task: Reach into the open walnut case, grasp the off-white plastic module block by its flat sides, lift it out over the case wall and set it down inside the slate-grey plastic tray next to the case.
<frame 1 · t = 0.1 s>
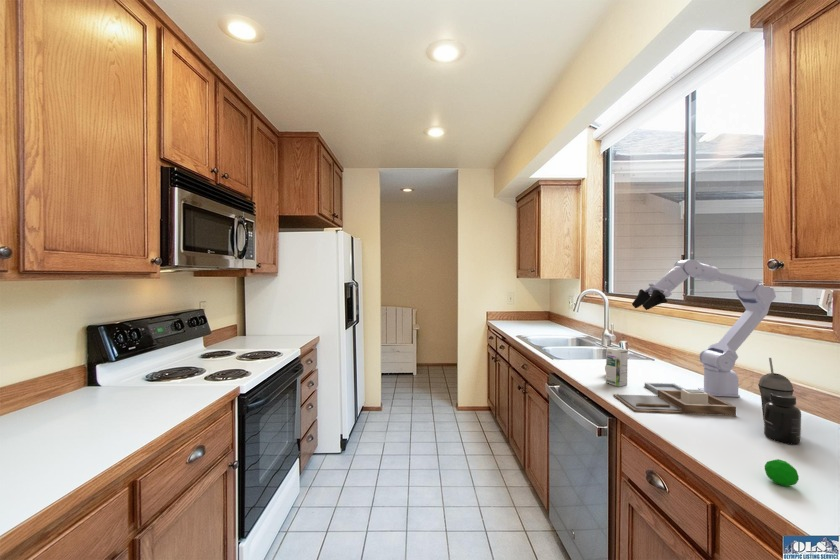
hand: (638, 307, 133), 32 cm above the worktop, tool tilted 50°, fingers open, 7 cm apart
module: (694, 406, 118), resting in open case
supplement bottle: (781, 440, 94), on the worktop
open case: (694, 405, 118), on the worktop
green rounded piece: (781, 484, 74), on the worktop
tray: (667, 391, 132), on the worktop
apple: (615, 377, 151), on the worktop
syrup box: (616, 384, 142), on the worktop
beverage cup: (775, 427, 101), on the worktop
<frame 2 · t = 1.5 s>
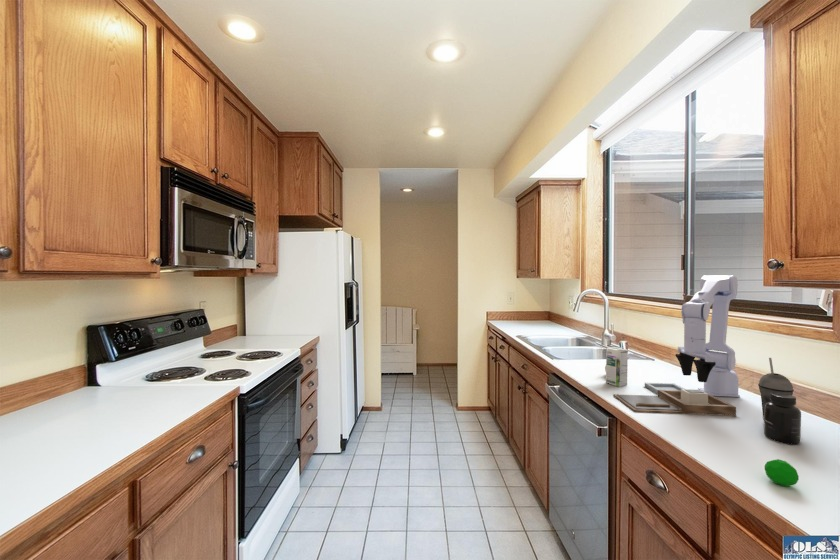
hand: (694, 378, 118), 9 cm above the worktop, tool pointing down, fingers open, 7 cm apart
nothing on the worktop moved.
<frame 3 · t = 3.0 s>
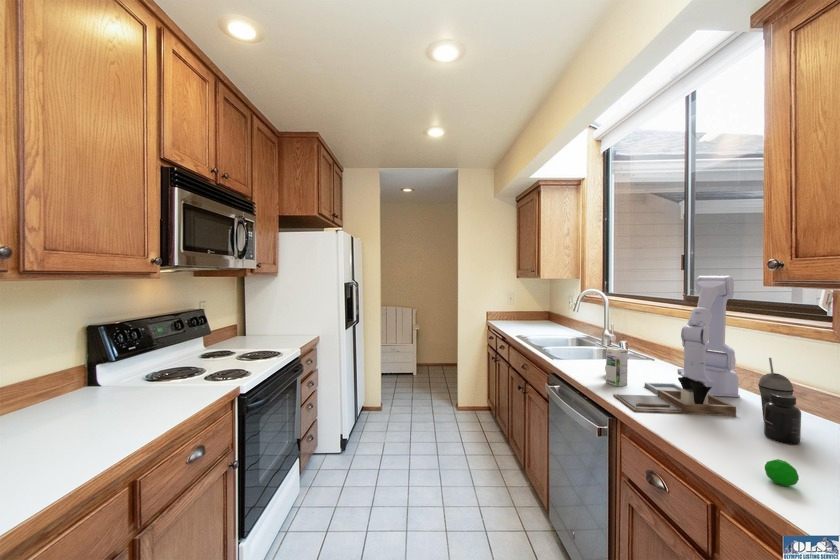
hand: (694, 401, 118), 1 cm above the worktop, tool pointing down, fingers closed on module, 4 cm apart
module: (694, 405, 118), resting in open case, touching gripper
everything else where it was.
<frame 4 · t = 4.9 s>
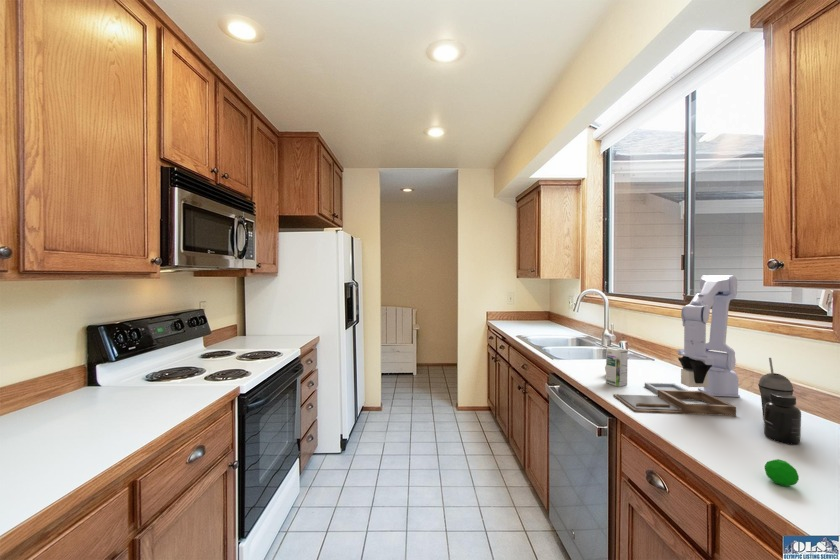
hand: (694, 381, 118), 8 cm above the worktop, tool pointing down, fingers closed on module, 4 cm apart
module: (694, 385, 118), point 7 cm above the worktop, touching gripper
everything else where it was.
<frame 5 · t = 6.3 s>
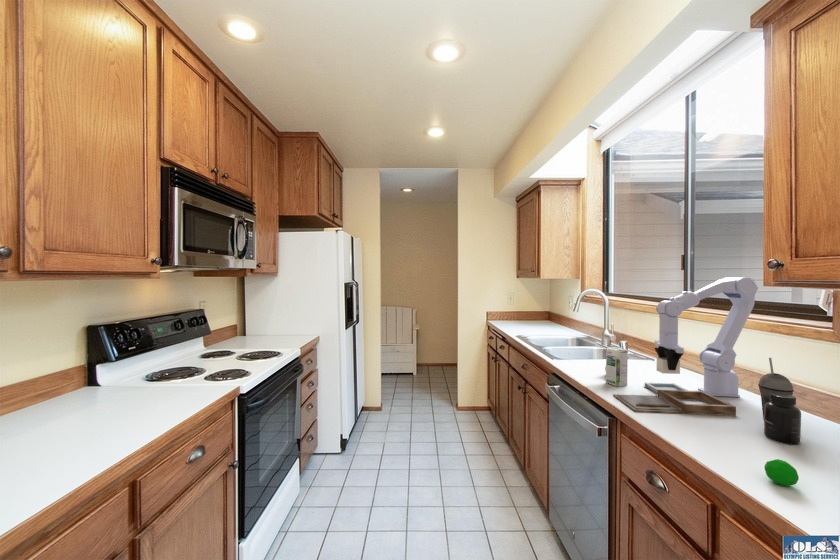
hand: (668, 368, 132), 9 cm above the worktop, tool pointing down, fingers closed on module, 4 cm apart
module: (668, 372, 132), point 7 cm above the worktop, touching gripper
everything else where it was.
when the fingers open (3 cm above the worktop, at t = 7.8 s): module drops 1 cm, resting on tray.
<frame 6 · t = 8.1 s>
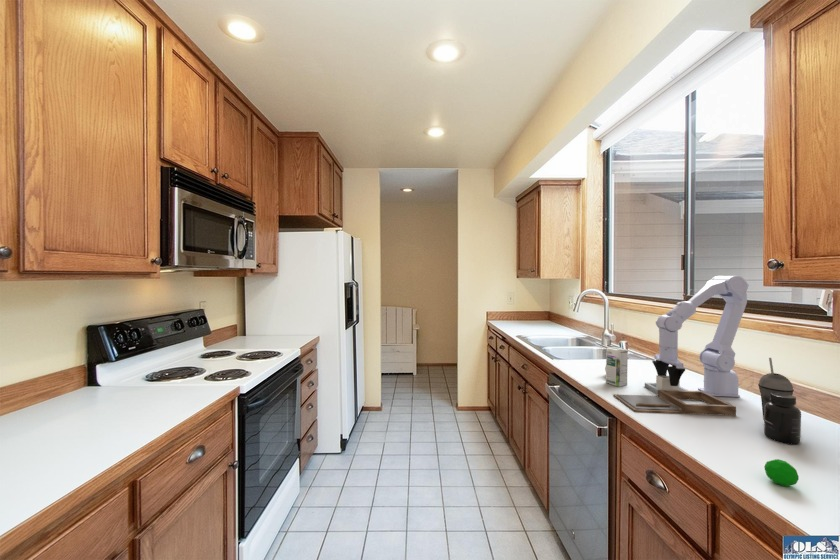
hand: (667, 382, 132), 3 cm above the worktop, tool pointing down, fingers open, 7 cm apart
module: (667, 390, 132), resting on tray
everything else where it was.
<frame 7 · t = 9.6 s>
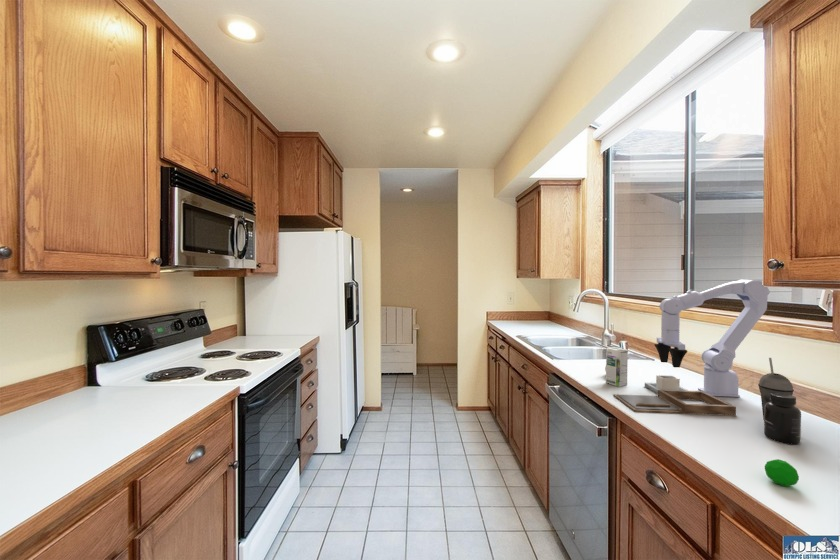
hand: (670, 364, 136), 9 cm above the worktop, tool pointing down, fingers open, 7 cm apart
nothing on the worktop moved.
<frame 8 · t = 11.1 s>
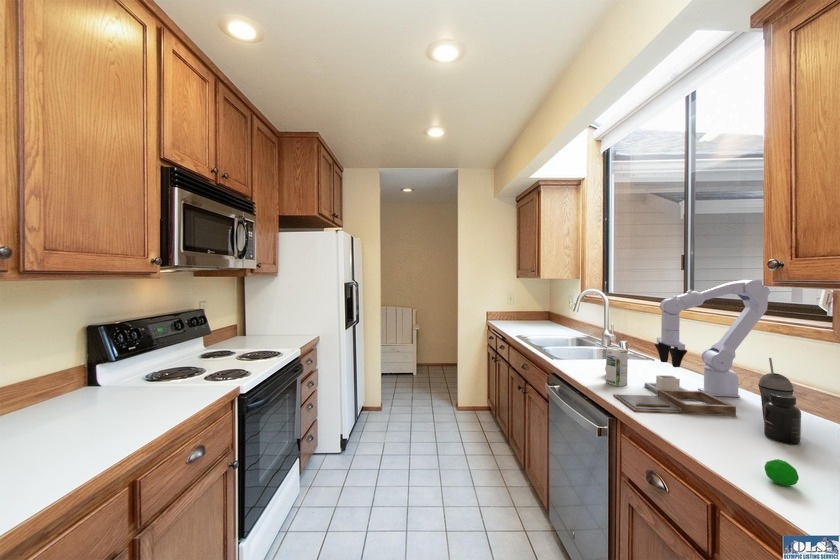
hand: (670, 364, 136), 9 cm above the worktop, tool pointing down, fingers open, 7 cm apart
nothing on the worktop moved.
at the end: module 0.1 cm off-centre on the tray, point 0.5 cm above the tray's base; the gripper is holding nothing; module touching tray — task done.
